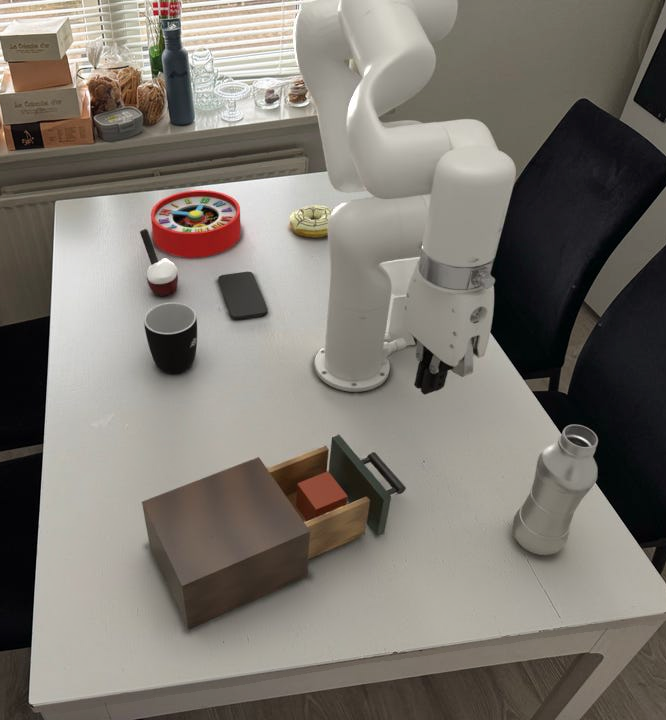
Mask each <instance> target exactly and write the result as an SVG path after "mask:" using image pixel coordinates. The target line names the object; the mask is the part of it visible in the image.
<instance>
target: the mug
mask: <svg viewBox="0 0 666 720" xmlns="http://www.w3.org/2000/svg"><path fill="white" fill-rule="evenodd" d="M197 318H198V317H197V313H196V311H195V310H194V309H193V308H192V307H191V306H189V305H187V304H184V303H180V302H164V303H160V304H158V305H155V306H153V307H152V308H150V309H149V310H148V311H147V312H146V313H145V314H144V318H143V327H144V331H145V336H146V337H145V338H146V341H147V344H148V348H149V352H150V355H151V358H152V360H153V362H154V364H155V366H156V367H157V368H158V369H159V370H160V371H161V372H163V373H165V374H169V375H179V374H182V373H185V372H186V371H188V370H190V368H191V367H192V366H193V364H194V362H195V358H196V354H197V345H198V319H197Z"/></svg>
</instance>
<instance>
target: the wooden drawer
mask: <svg viewBox="0 0 666 720" xmlns="http://www.w3.org/2000/svg"><path fill="white" fill-rule="evenodd" d="M329 451H330V452H329ZM329 453H330V454H329ZM367 464H371V465H372V466H373V468H375V469H376V471H377V472H378V473H379V474H380V475H381V477H382V478H383V479H384V480H385V481H386V483H387V484H388V485H389V486H390V487H391V488H388V489H386V488H385V487H384V486H383V485H382V484H381V482H380V481H379V480H378V479H377V477H376V476H375V475H374V474H373V473H372V471H371V470H370V469H369V467H367V466H366V465H367ZM266 468H267V469H268V471H269V472H270V474H271V475H272V477H273V478H274V480H275V481H276V482H277V484H278V485H279V487H280V488H281V490H282V491H283V493H284V494H285V495H286V497H287V498H288V500H289V501H290V503H291V504H292V506H293V507H294V509H295V510H296V511H297V513H298V514H299V516H300V517H301V519H302V520H303V522H304V523H305V524H306V526H307V527H308V529H309V530H310V541H309V555H308V560H310V559H313V558H315V557H317V556H319V555H321V554H324V553H326V552H328V551H331V550H333V549H335V548H338V547H340V546H342V545H345V544H347V543H349V542H351V541H353V540H357V539H358V538H360V537H362V536H365V534H366V529H367V526H368V527H369V528H370V530H371V531H372V532H373V533H374V535H375V536H376V537H380V536H382V535H384V534H385V531H386V527H387V522H388V516H389V512H390V506H391V501H392V495H394V494H397V495H402V494H403V493H405V491H406V490H407V487H406V486H405V484H403V482H402V481H401V480H400V479H399V478H398V477H397V475H396V474H395V473H394V472H393V470H391V469H390V467H388V465H387V464H386V463H385V462H384V461H383V459H381V457H380V456H379V455H378V454H377V453H376V452H375V451H372V452H370V453H368V455H367V457H365V458H362V459H360V458H359V456H358V454H356V452H354V450H353V449H352V448H351V447H350V445H349V444H348V443H347V442H346V441H345V440H344V438H343V437H342V436H341V435H340V434H336V435H333V436H331V442H330V449H329V448H328V446H327V445H323V446H320V447H319V448H315V449H314V450H311V451H309V452H308V451H307V452H305V453H303V454H299V455H298V456H295V457H293V458H290V459H288V460H285V461H283V462H280V463H277V464H275V465H273V466H271V467H266ZM327 471H328V472H329V473H330V474H331V475H332V477H333V478H334V479H335V481H336V482H337V483H338V484H339V486H340V487H341V488H342V490H343V491H344V492H345V493H346V495H347V496H348V499H347V501H349V503H347V505H345V506H343V507H340V508H338V509H336V510H333V511H331V512H328V513H326V514H324V515H321V516H319V517H317V518H314V519H312V520H309V521H307V520H306V519H305V518H304V516H303V515H302V513H301V512H300V510H299V509H298V508H297V506H296V499H297V483H300V482H302V481H305V480H307V479H310V478H312V477H315V476H317V475H320V474H322V473H325V472H327Z"/></svg>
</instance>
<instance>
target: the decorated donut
mask: <svg viewBox="0 0 666 720" xmlns="http://www.w3.org/2000/svg"><path fill="white" fill-rule="evenodd" d="M333 210H334V209H332V208H331V207H329V206H325V205H319V204H318V205H308V206H304V207H301V208H299V209H296V210H295V211H294V212H292V214H290V216H289V227H290V230H291V231H292V232H293V233H295V234H296V235H299V236H301V237H307V238H322V237H326V236H328V229H327V227H328V219H329V216H330V214H331V213H332V211H333Z"/></svg>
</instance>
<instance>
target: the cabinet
mask: <svg viewBox="0 0 666 720" xmlns="http://www.w3.org/2000/svg"><path fill="white" fill-rule="evenodd" d="M267 468H268V467H266V464H264V462H263V461H262V459H261V458H260V457H259V456H257V457H255V458H252V459H249V460H247V461H244V462H241V463H239V464H236V465H234V466H231V467H228V468H225V469H224V470H221V471H218V472H216V473H213V474H210V475H208V476H205V477H202V478H200V479H197V480H195V481H192V482H189V483H186V484H184V485H182V486H178V487H176V488H174V489H171V490H169V491H166V492H164V493H160V494H157V495H156V496H153V497H150V498H148V499H145V500H143V501H141V506H142V512H143V517H144V522H145V528H146V534H147V538H148V544H149V548H150V550H151V552H152V555H153V557H154V559H155V561H156V563H157V566H158V567H159V570H160V572H161V575H162V576H163V578H164V581H165V583H166V585H167V587H168V589H169V591H170V593H171V596H172V598H173V600H174V603H175V605H176V606H177V609H178V611H179V613H180V615H181V618H182V620H183V622H184V624H185V627H186V628H187V630H191V629H192V628H194V627H198V626H199V625H201V624H203V623H206V622H208V621H210V620H213V619H214V618H217V617H219V616H222V615H224V614H227V613H228V612H231V611H232V610H235V609H237V608H239V607H242V606H244V605H246V604H249V603H251V602H253V601H255V600H258V599H259V598H262V597H265V596H266V595H269V594H271V593H273V592H276V591H278V590H280V589H283V588H284V587H286V586H289V585H291V584H293V583H295V582H298V581H300V580H302V579H304V578H307V577H308V568H309V559H308V555H309V541H310V530H309V529H308V527H307V526H306V524H305V523H304V522H303V520H302V519H301V517H300V516H299V514H298V513H297V511H296V510H295V509H294V507H293V506H292V504H291V503H290V501H289V500H288V498H287V497H286V495H285V494H284V493H283V491H282V490H281V488H280V487H279V485H278V484H277V482H276V481H275V480H274V478H273V477H272V475H271V474H270V472H269V471H268V469H267Z"/></svg>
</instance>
